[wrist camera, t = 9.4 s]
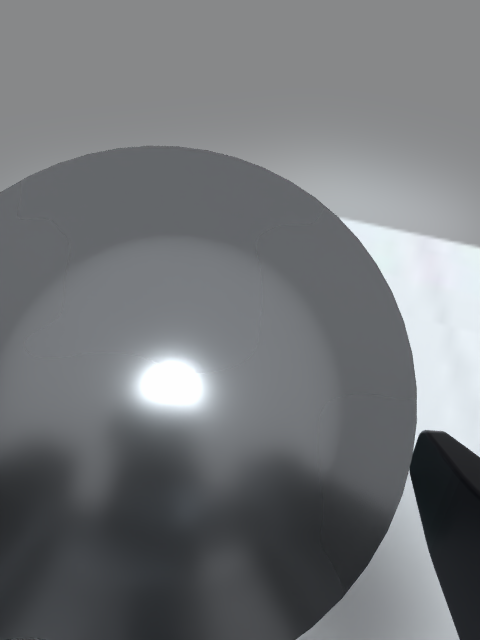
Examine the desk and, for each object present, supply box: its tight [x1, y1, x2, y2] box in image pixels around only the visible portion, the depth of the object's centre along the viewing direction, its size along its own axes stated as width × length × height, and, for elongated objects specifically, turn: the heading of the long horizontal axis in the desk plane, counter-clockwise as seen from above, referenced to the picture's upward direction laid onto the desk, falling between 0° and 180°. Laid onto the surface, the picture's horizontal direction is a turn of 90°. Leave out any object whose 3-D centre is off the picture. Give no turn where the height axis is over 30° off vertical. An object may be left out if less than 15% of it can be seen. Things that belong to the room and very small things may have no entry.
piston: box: [0, 146, 417, 640], centre depth 10 cm, size 5×5×13 cm
